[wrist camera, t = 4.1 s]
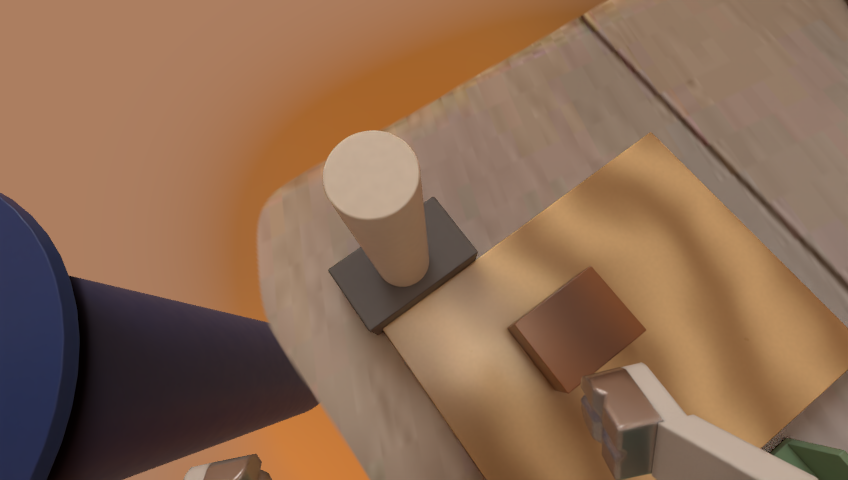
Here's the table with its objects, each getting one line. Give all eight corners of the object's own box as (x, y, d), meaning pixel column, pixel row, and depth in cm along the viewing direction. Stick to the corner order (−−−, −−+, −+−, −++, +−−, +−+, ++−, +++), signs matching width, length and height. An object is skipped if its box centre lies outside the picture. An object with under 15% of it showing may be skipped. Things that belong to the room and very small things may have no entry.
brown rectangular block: (555, 391, 23) (568, 394, 20) (506, 328, 24) (513, 324, 21) (626, 333, 23) (647, 330, 21) (576, 274, 24) (591, 265, 22)
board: (570, 600, 21) (578, 614, 20) (384, 330, 25) (382, 328, 24) (849, 350, 24) (870, 349, 23) (642, 141, 28) (650, 131, 26)
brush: (377, 335, 25) (303, 303, 11) (339, 280, 26) (230, 189, 12) (474, 264, 26) (511, 157, 12) (434, 213, 27) (428, 62, 13)
